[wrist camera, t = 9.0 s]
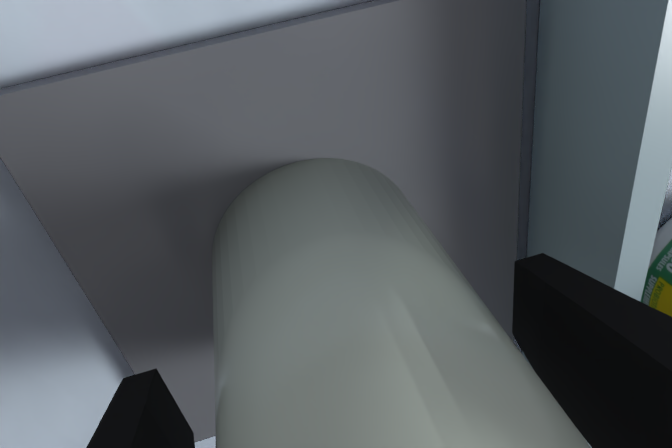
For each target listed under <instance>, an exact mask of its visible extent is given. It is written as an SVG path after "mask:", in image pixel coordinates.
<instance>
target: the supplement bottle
mask: <svg viewBox="0 0 672 448" xmlns="http://www.w3.org/2000/svg"><path fill="white" fill-rule="evenodd" d="M640 302H642V303H644V304H646V305H648V306H650V307H652V308H654V309H656V310H659V311H661V312H663V313H665V314H667V315H669V316H671V317H672V218H671V219H670V220H668V221H667V222H666V223H665V224H664V225H663V226H662V227H661V228H660V229H659V230H658V231H657V233H656V237H655V241H654V245H653V250H652V254H651V258H650V263H649V267H648V271H647V276H646V280H645V284H644V288H643V293H642V297H641V301H640Z"/></svg>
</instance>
